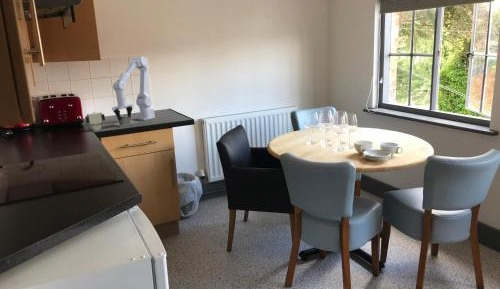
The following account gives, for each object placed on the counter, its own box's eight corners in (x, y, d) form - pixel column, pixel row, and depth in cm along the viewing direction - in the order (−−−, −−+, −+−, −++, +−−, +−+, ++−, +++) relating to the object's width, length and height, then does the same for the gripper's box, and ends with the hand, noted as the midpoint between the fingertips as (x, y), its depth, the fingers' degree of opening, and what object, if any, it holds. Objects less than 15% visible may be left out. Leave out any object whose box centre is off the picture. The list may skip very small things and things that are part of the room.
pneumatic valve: (106, 129, 268) (103, 111, 265) (88, 132, 264) (84, 113, 261) (105, 127, 273) (102, 110, 270) (87, 130, 268) (84, 112, 265)
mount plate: (129, 121, 290) (129, 116, 289) (138, 122, 282) (137, 117, 281) (111, 125, 281) (110, 120, 280) (120, 126, 272) (119, 121, 272)
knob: (126, 122, 283) (125, 114, 282) (130, 122, 279) (129, 115, 278) (119, 123, 279) (118, 115, 278) (123, 124, 276) (122, 116, 274)
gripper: (127, 97, 283) (130, 116, 286) (108, 100, 273) (111, 120, 276) (133, 97, 278) (136, 117, 281) (113, 101, 268) (116, 121, 271)
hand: (124, 119), depth 278 cm, fingers open, 7 cm apart
